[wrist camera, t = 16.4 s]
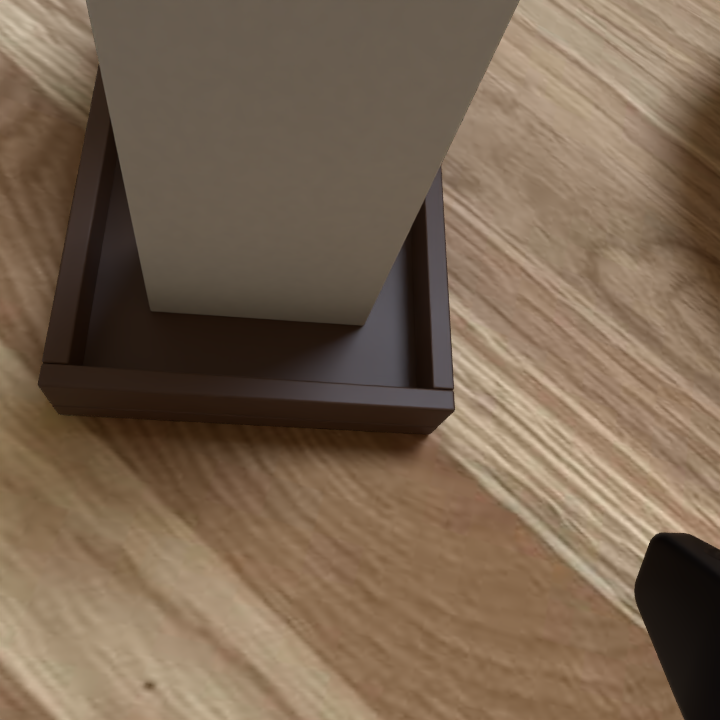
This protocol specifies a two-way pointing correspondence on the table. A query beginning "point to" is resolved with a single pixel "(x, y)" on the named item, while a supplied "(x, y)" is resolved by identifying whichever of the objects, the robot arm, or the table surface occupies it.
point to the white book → (284, 141)
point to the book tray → (238, 332)
